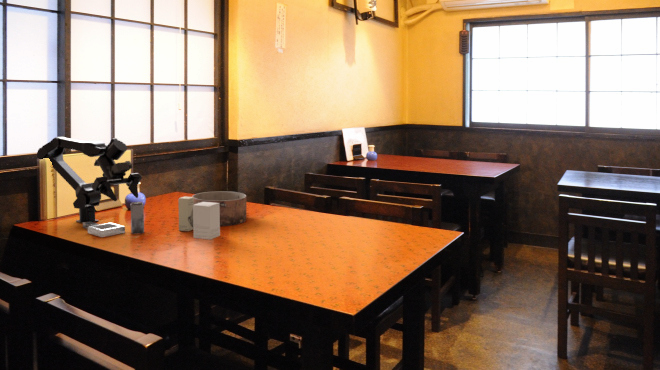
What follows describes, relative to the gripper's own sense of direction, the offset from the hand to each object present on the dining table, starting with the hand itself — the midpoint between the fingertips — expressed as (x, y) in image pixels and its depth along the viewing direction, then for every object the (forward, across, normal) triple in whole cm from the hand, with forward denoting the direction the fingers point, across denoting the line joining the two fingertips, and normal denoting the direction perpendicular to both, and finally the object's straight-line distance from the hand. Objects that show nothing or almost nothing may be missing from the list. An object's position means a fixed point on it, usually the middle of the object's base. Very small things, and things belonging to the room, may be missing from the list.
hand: (127, 198), depth 205 cm
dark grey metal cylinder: (+13, 0, +4) cm, 14 cm away
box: (+20, +15, -3) cm, 25 cm away
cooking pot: (+18, +35, -1) cm, 39 cm away
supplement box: (+30, +13, -13) cm, 35 cm away
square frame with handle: (+4, -8, +13) cm, 16 cm away
